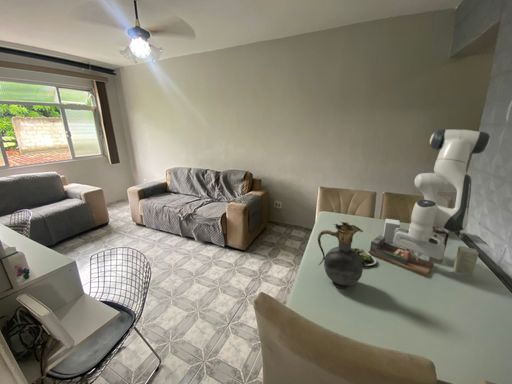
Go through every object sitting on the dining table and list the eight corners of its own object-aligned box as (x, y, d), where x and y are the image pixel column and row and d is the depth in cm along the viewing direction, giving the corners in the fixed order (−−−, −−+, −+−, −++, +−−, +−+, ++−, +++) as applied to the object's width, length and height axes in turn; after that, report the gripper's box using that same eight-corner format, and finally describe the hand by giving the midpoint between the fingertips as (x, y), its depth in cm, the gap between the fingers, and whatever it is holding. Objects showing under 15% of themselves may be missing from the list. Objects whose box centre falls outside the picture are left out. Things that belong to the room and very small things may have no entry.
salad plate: (331, 248, 125) (331, 241, 124) (361, 247, 125) (362, 240, 124) (345, 269, 106) (346, 261, 105) (380, 267, 107) (382, 259, 105)
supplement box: (397, 244, 127) (400, 224, 123) (382, 241, 130) (385, 222, 127) (396, 239, 133) (399, 220, 129) (382, 236, 136) (385, 218, 133)
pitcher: (360, 296, 88) (369, 230, 80) (313, 284, 96) (316, 222, 88) (360, 280, 98) (368, 219, 90) (317, 270, 106) (320, 213, 97)
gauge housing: (377, 245, 126) (379, 234, 124) (433, 266, 106) (436, 252, 104) (367, 254, 118) (369, 241, 116) (425, 277, 98) (429, 263, 96)
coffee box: (442, 263, 109) (449, 234, 104) (428, 261, 110) (434, 233, 105) (432, 253, 117) (438, 226, 113) (419, 252, 118) (424, 225, 114)
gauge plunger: (397, 253, 115) (399, 244, 113) (409, 257, 111) (411, 248, 109) (392, 258, 110) (393, 249, 109) (404, 263, 106) (406, 254, 105)
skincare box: (470, 272, 101) (477, 249, 98) (472, 277, 98) (479, 253, 94) (452, 267, 105) (458, 245, 101) (454, 272, 101) (460, 249, 98)
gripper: (392, 228, 108) (389, 252, 112) (445, 243, 93) (438, 271, 97) (397, 225, 112) (393, 248, 116) (448, 238, 97) (442, 265, 101)
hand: (414, 258), depth 106 cm, fingers closed
